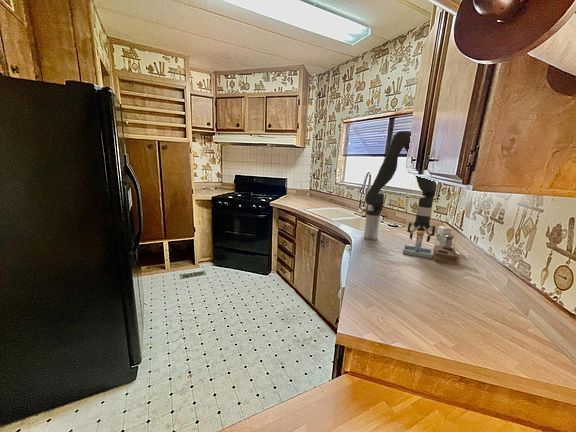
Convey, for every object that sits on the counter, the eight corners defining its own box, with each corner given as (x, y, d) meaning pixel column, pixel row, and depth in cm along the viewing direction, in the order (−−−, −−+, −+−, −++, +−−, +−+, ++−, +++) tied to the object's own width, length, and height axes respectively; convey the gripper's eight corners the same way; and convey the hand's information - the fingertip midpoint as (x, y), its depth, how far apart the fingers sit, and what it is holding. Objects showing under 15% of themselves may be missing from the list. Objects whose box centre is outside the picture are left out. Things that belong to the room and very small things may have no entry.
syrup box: (448, 250, 156) (452, 228, 153) (439, 249, 157) (443, 228, 153) (443, 247, 162) (447, 226, 159) (434, 246, 162) (438, 225, 159)
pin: (441, 254, 148) (445, 234, 146) (450, 256, 146) (453, 235, 144) (442, 257, 145) (445, 236, 142) (450, 258, 143) (454, 237, 140)
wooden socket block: (433, 252, 152) (434, 244, 151) (452, 255, 148) (453, 247, 146) (434, 261, 138) (436, 253, 137) (455, 265, 134) (457, 256, 133)
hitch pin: (413, 250, 152) (416, 230, 149) (420, 252, 150) (424, 231, 147) (413, 252, 148) (416, 232, 145) (420, 254, 146) (424, 233, 143)
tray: (403, 248, 157) (404, 244, 156) (431, 253, 150) (431, 249, 150) (402, 253, 148) (403, 249, 147) (431, 259, 141) (432, 255, 141)
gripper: (437, 214, 143) (432, 240, 147) (410, 211, 150) (406, 236, 154) (438, 217, 137) (433, 244, 141) (409, 213, 143) (405, 240, 147)
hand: (419, 240), depth 147 cm, fingers open, 8 cm apart
